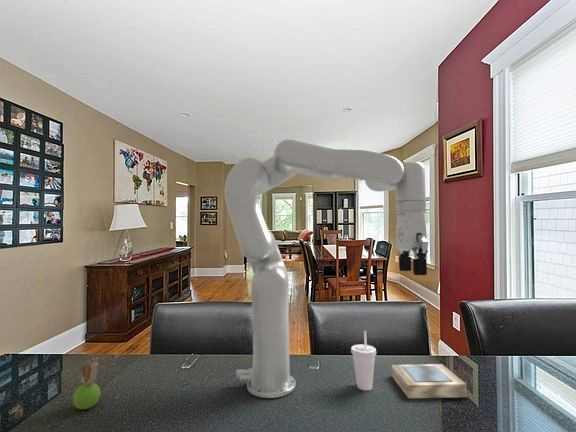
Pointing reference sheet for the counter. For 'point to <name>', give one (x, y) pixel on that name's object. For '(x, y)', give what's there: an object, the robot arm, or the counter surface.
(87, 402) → the snail figurine
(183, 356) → the counter surface
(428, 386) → the plinth
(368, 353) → the smoothie
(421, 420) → the counter surface
